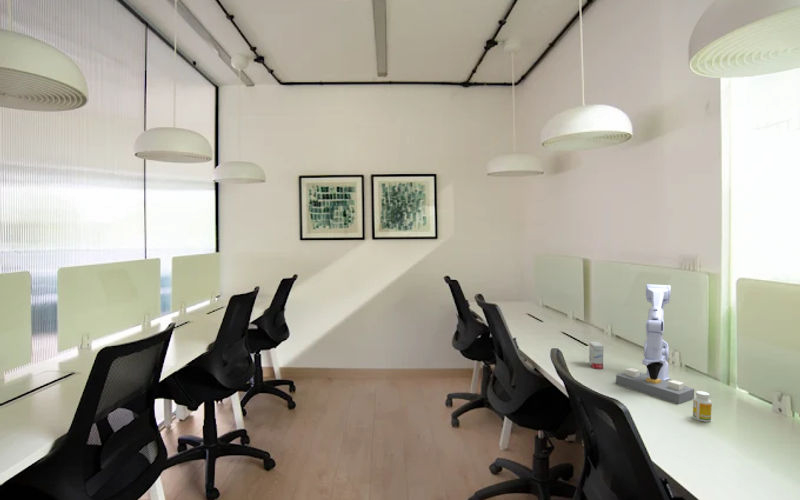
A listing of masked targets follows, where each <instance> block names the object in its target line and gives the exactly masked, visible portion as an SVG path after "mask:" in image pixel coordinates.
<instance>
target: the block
mask: <svg viewBox="0 0 800 500" xmlns="http://www.w3.org/2000/svg"><path fill="white" fill-rule="evenodd" d="M625 372H626V375H627V376H631V377H634V378H636V377H639V376H640V373H641V371H640V369H636V368H632V367H630V368H625Z"/></svg>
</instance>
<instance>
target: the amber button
mask: <svg viewBox="0 0 800 500" xmlns="http://www.w3.org/2000/svg"><path fill="white" fill-rule="evenodd" d="M646 381H647V382H651V383H654V384H658V383H661V379H656V380H654V379H650V377H649V378H646Z"/></svg>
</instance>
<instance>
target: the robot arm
mask: <svg viewBox="0 0 800 500" xmlns="http://www.w3.org/2000/svg"><path fill="white" fill-rule="evenodd" d="M671 288H672V287H671V285H670V284H649V283H647V284H646V285H645V298H646V301H647V302H648V303H650V304H651V306H652V307H649V308H648V314H647V315H648V316H647V320H646V321H645V335H646V340H645V341H644V344H643V356H644V358H643V359H642V360H641V364H642V365H645V366H646V375H648V376H650V379H654V380H656V379H657V378H659V379H662V380H665V381H669V380H671V377H669V368H670V367H669V366H670V365H669V363H668V360H669V359H670V358H669V357H670V352H669V351H670V348H669V344H668V342H667V341H665V340H664V339H663V338H664V337H663V336H664V333H665V320H664V319H665V318H664V313H665V311H664V308H665V305H667V304H670V301H671V293H672V290H671Z"/></svg>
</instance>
